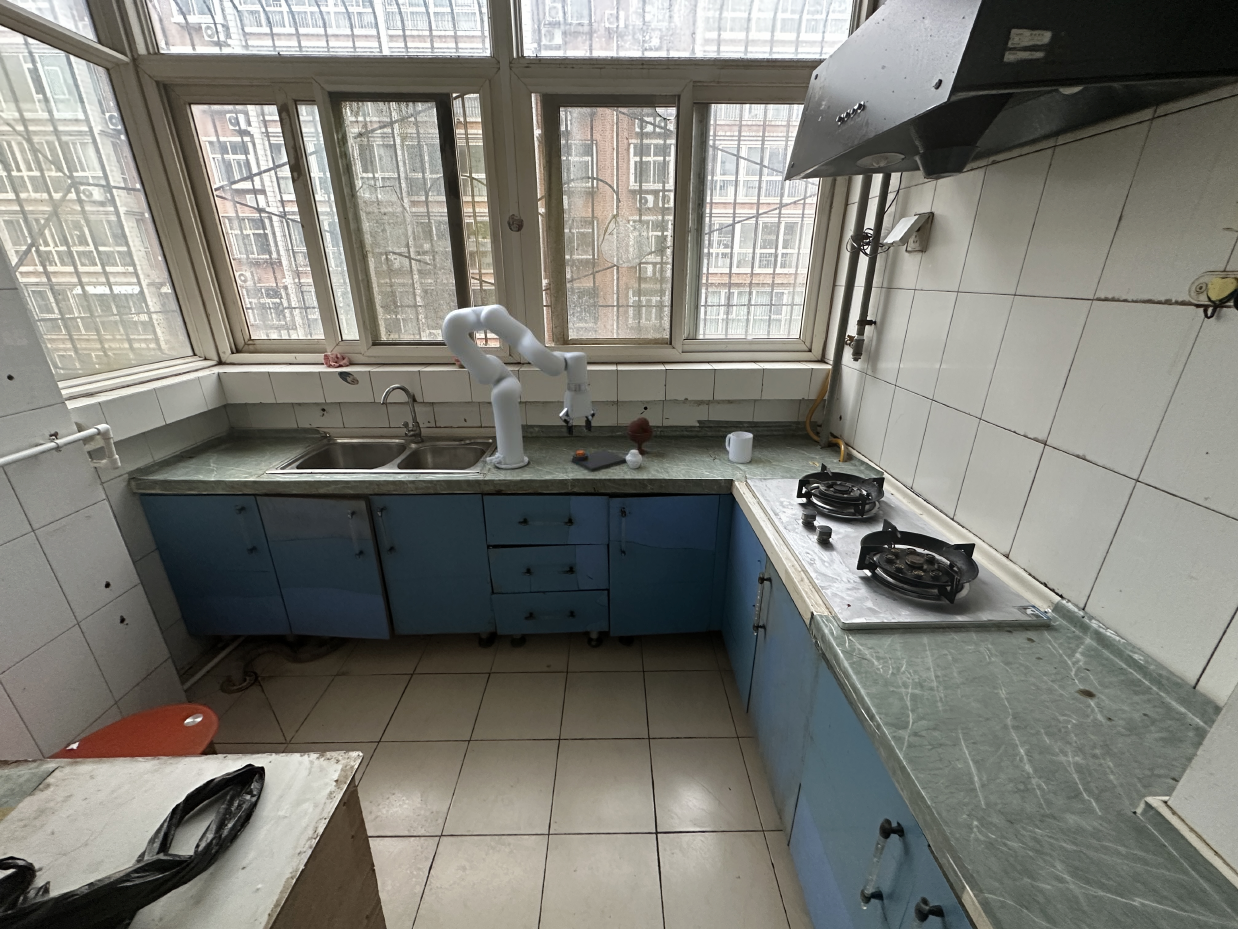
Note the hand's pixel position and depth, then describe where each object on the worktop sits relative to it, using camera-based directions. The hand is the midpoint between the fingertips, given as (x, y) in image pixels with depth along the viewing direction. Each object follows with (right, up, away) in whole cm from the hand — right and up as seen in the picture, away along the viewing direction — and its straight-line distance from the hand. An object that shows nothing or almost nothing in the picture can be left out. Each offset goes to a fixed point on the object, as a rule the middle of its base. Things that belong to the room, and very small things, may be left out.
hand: (579, 432), depth 189 cm
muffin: (+21, -13, -2) cm, 25 cm away
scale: (+7, -11, +4) cm, 14 cm away
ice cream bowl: (+23, -8, +13) cm, 28 cm away
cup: (+61, -10, +6) cm, 62 cm away
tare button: (0, -9, +3) cm, 9 cm away
